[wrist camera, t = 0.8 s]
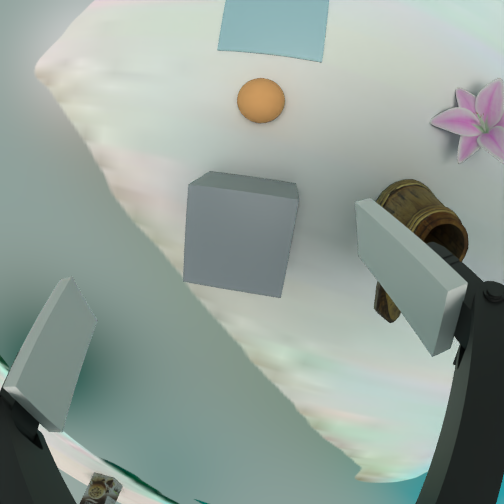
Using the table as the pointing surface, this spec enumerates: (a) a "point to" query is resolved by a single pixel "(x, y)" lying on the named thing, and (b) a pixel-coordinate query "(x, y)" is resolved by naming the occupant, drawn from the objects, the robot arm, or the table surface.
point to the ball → (260, 100)
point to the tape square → (275, 27)
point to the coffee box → (101, 490)
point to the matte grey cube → (239, 232)
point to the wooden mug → (419, 228)
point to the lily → (477, 121)
